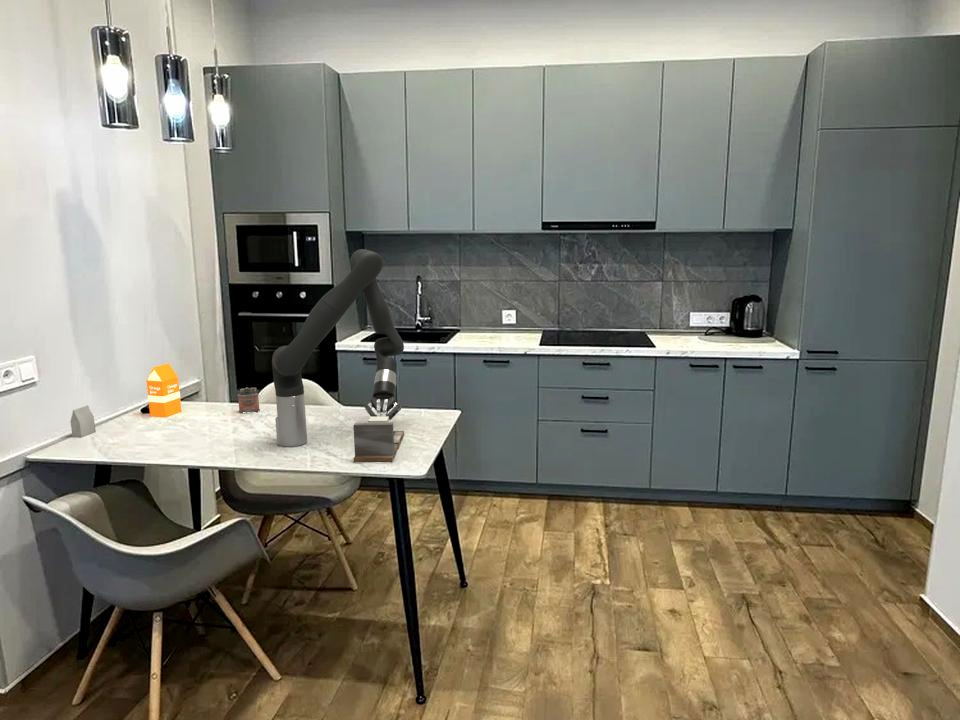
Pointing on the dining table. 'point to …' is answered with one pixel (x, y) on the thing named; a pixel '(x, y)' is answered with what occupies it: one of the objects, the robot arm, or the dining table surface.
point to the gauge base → (376, 441)
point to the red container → (248, 400)
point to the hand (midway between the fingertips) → (380, 429)
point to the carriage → (380, 420)
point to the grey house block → (82, 422)
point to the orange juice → (163, 391)
